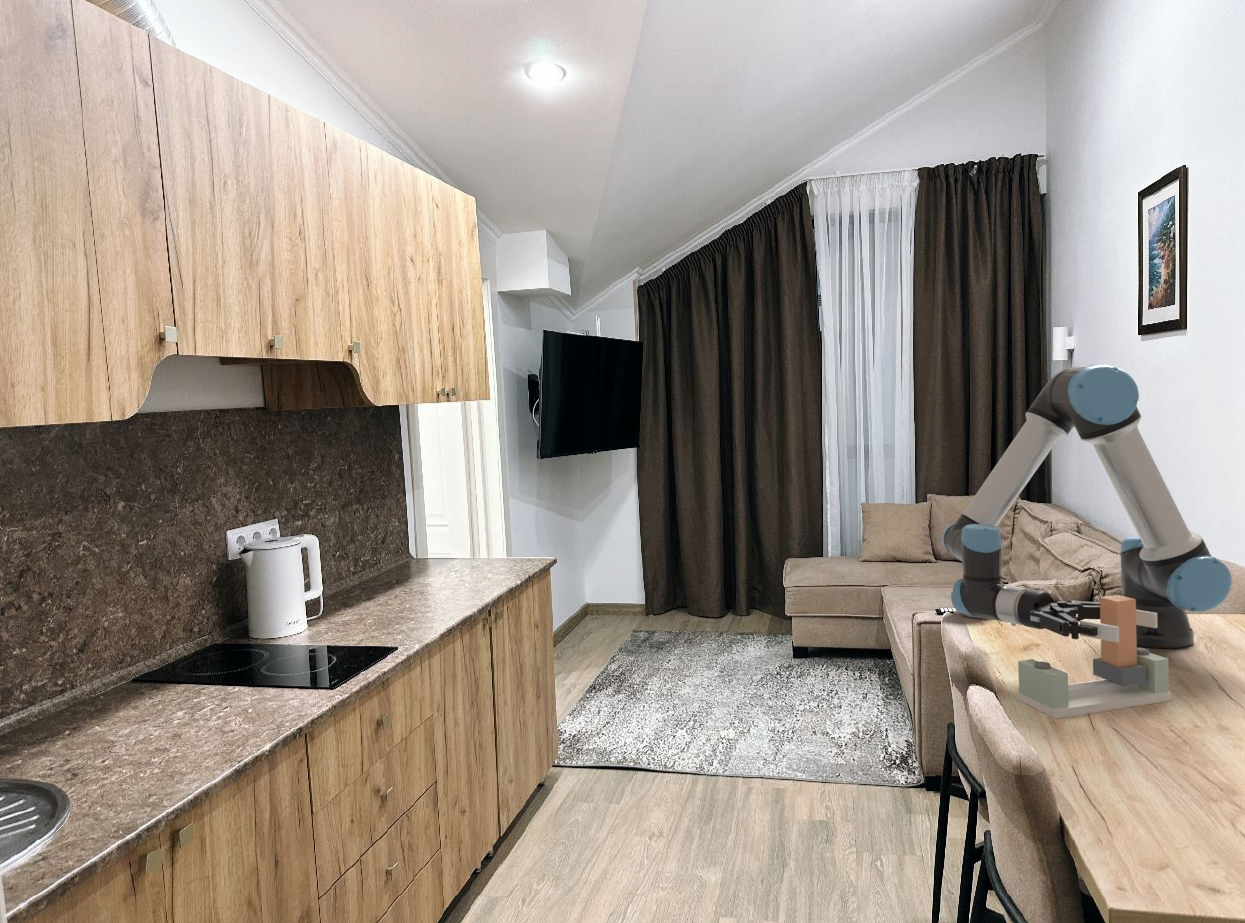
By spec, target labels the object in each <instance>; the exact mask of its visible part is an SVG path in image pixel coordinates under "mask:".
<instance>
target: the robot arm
mask: <svg viewBox="0 0 1245 923" xmlns="http://www.w3.org/2000/svg"><path fill="white" fill-rule="evenodd" d="M1139 392H1140V391H1139V388H1138V385H1137V383H1136V381H1135V379H1134V378H1133V377H1132V376H1131V375H1130V374H1129V373H1128V372H1126V370H1124V369H1122V368H1118V367H1116V366H1111V365H1107V364H1091V365H1088V366H1087V365H1086V366H1075V367H1074V366H1073V367H1068V368H1065V369H1063V370H1061V371H1059V372H1058V373H1056V374H1055V375H1053V377H1051V379H1050V380H1049V381H1048V382H1046V384H1045V385H1044V387H1043V388H1042V389H1041V391H1040V392H1039V394H1038V395H1037V396H1036V398H1035V399H1034V400H1033V402H1032V403H1031V405H1030V406H1029V408H1028V409H1027V411H1026V412H1025V419H1026V420H1025V422H1024V423H1023V425H1022V426H1021V428H1020V430H1019V431H1018V433H1017V434H1015V435H1016V436H1015V437H1014V438H1013V440H1012V441H1011V442H1010V444H1009V445H1008V447H1007V449H1006V450H1005V451H1004V453H1003V454H1002V456H1001V457H1000V458H999V460H998V462H997V463H996V464H995V466H994V468H993V469H992V471H991V472H990V473H989V474H988V476H987V478H986V479H985V480H984V481H983V483H982V485H981V487H980V488H979V489H978V491H977V492H976V493H975V495H974V497H973V498H972V499H971V500H970V502H969V503H968V505H967V506H966V508H965V510H964V511H963V512H962V514H961V515H960V516H959V517H958V519H957V520H956V522H954V523H952V524H949V525H948V526H947V527H945V529H943V531H942V534H941V544H942V546H943V548H944V549H945V550H946V552H947V553H948V554H949V555H950V556H952V557H953V558H955V559H958V560H960V561H961V562H962V571H963V573H962V578H960V579H958V580H956V582H955V583H954V584H953V585H952V591H951V593H950V601H951V604H952V606H953V608H954V609H955V610H956V611H958V612H959V613H961V614H963V613H965V614H968V615H972V616H974V617H981V618H983V619H987V620H992V621H993V620H994V621H999V622H1002V623H1003V622H1004V623H1010V626H1012V627H1015V626H1016V625H1019V626H1023V627H1027V628H1032V629H1037V630H1044V629H1045V630H1047V631H1050V632H1052V633H1055V634H1058V635H1060V636H1062V637H1065V638H1067V637H1070V635H1071V638H1070V639H1072V640H1079V638H1080V636H1082V637H1086V638H1093V639H1097V640H1100V641H1101V640H1106V641H1111V642H1116V643H1117V642H1119V627H1118V626H1112V625H1107V624H1101V623H1100V622H1095V621H1090V620H1100V601H1099V602H1097V601H1083V600H1082V601H1081V600H1074V599H1067V600H1066V601H1064V600H1060V601H1058V600H1057V601H1054V598H1053V597H1052V595H1051V594H1050V593H1049V592H1047V591H1044V590H1038V589H1032V588H1027V587H1020V586H1015V585H1014V586H1013V585H1007V584H1003V583H1002V582H1003V581H1002V579H1003V578H1002V575H1003V574H1002V546H1003V543H1002V539H1001V530H1000V528H999V526H998V525H999V524H1000V522H1002V520H1003V519H1004V517H1005V515H1006V514H1007V513H1008V511H1009V510H1010V508H1011V507H1012V505H1013V504H1014V503H1015V501H1016V500H1017V498H1018V497H1019V496H1020V494H1021V493H1022V491H1023V490H1024V488H1025V487H1026V486H1027V484H1028V483H1029V482H1030V480H1031V478H1032V477H1033V475H1034V474H1035V473H1036V471H1037V470H1038V469H1039V467H1040V466H1041V464H1042V463H1043V462H1044V460H1045V459H1046V458H1047V456H1048V454H1049V453H1050V452H1051V450H1052V449H1053V448H1054V446H1055V445H1056V444H1057V442H1058V440H1059V439H1061V438H1066V437H1067V436H1068V435H1069V434H1070V432H1071V430H1073V428H1074V429H1076V432H1077V434H1078V436H1079V438H1080V440H1081V441H1083V442H1087V443H1089V444H1091V445H1092V446H1093V448H1094V449H1095V452H1096V453H1097V456H1098V457H1099V460H1100V461H1101V463H1102V466H1103V468H1104V469H1105V472H1106V474H1107V476H1108V477H1109V479H1110V481H1111V484H1112V485H1113V487H1114V489H1115V491H1116V493H1117V494H1116V495H1118V498H1119V499H1120V501H1121V504H1122V506H1123V507H1124V510H1125V511H1126V513H1127V515H1128V517H1129V519H1130V521H1131V523H1132V525H1133V528H1134V530H1135V531H1136V533H1137V536H1129V537H1125V538H1123V539H1122V541H1121V545H1120V551H1119V556H1120V573H1121V574H1120V577H1121V578H1120V579H1121V596H1125V597H1129V598H1133V599H1136V641H1137V647H1144V648H1154V649H1155V648H1156V649H1175V648H1176V649H1177V648H1186V647H1189V646H1191V645H1193V644H1194V642H1195V640H1194V639H1195V638H1194V637H1195V636H1194V630H1193V628H1192V627H1191V625H1190V620H1189V617H1188V615H1187V612H1186V611H1189V612H1195V613H1196V612H1197V613H1201V612H1208V611H1210V610H1213V609H1215V608H1216V607H1218V606H1220V605H1221V604H1222V603H1223V602H1224V601H1225V600H1226V599H1227V597H1228V594H1229V593H1230V591H1231V589H1232V584H1233V581H1232V579H1233V578H1232V574H1231V571H1230V570H1229V568H1228V566H1227V565H1226V564H1225V563H1223V562H1222V561H1221V560H1220V559H1219V558H1217V557H1214V556H1212V555H1211V552H1210V551H1209V548H1208V546H1207V544H1206V543H1205V541H1204V539H1203V537H1202V536H1201V534H1199V533H1196V532H1194V531H1190V530H1189V528H1188V526H1187V525H1186V522H1185V520H1184V518H1183V516H1182V514H1181V512H1180V510H1179V509H1178V506H1177V505H1176V501H1175V500H1174V497H1173V496H1172V495H1171V494H1172V493H1171V492H1170V490H1169V488H1168V486H1167V484H1166V482H1165V480H1164V478H1163V476H1162V474H1161V472H1160V470H1159V468H1158V467H1157V464H1156V463H1155V460H1154V458H1153V456H1152V454H1151V452H1150V450H1149V448H1148V447H1147V446H1148V445H1147V444H1146V442H1145V440H1144V438H1143V436H1142V434H1141V433H1140V430H1139V427H1138V425H1139V423H1140V421H1141V419H1142V415H1141V412H1140V411H1139V409H1138V407H1137V406H1138V405H1137V404H1138V401H1139V399H1140V393H1139ZM981 618H980V619H981ZM1079 635H1080V636H1079Z"/></svg>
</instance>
